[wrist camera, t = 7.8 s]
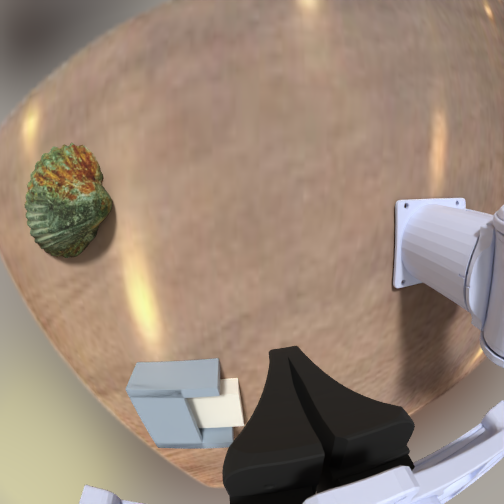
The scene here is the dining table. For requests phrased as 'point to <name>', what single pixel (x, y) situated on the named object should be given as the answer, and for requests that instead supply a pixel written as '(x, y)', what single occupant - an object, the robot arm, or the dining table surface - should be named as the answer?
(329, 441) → the robot arm
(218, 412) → the cream rectangular block
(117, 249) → the dining table surface
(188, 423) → the bracket
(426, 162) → the dining table surface
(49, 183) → the seashell
